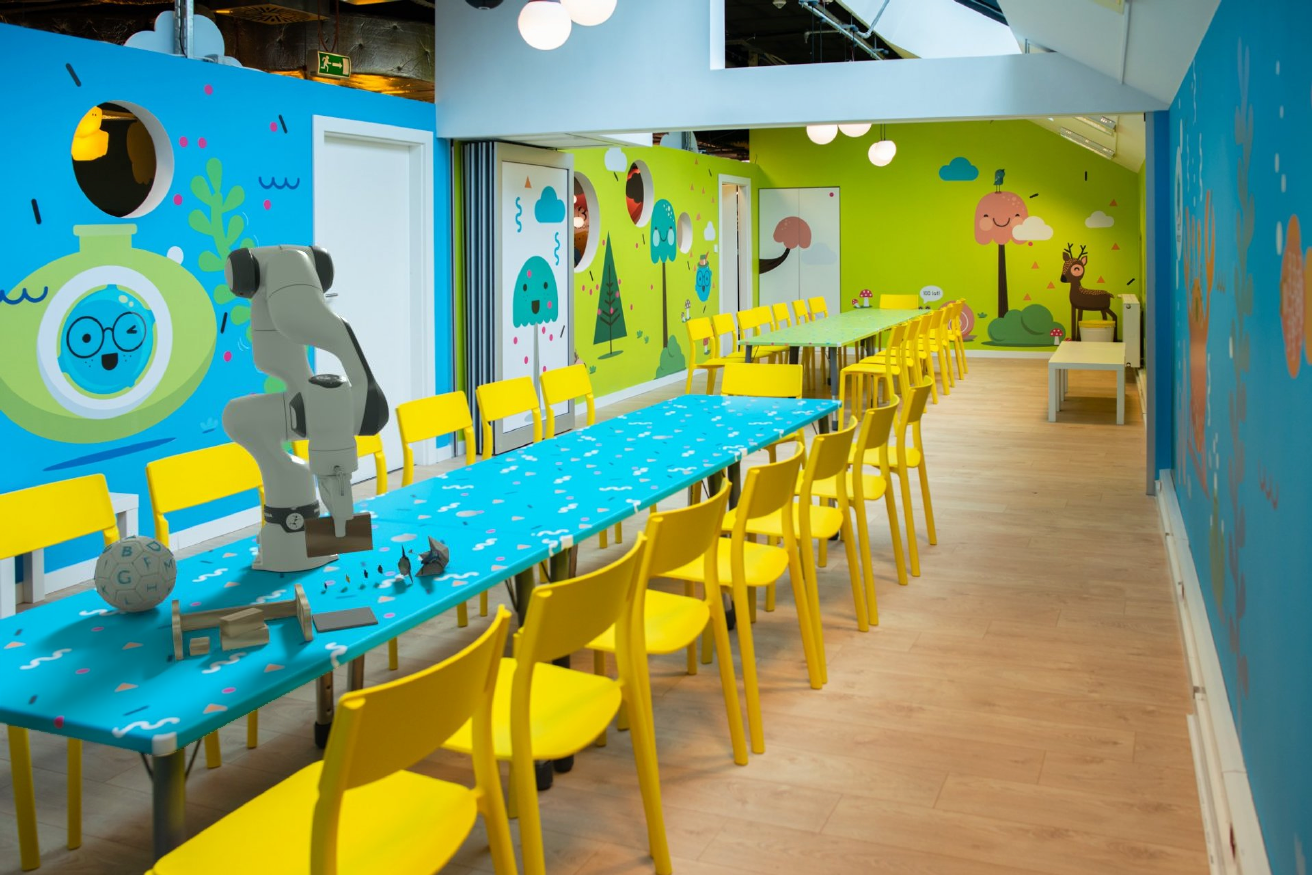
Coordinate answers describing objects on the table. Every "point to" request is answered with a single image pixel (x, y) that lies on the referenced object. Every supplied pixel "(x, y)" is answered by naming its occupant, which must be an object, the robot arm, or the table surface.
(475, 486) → the table surface
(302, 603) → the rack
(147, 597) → the puzzle ball
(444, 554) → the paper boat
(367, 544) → the walnut board
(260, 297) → the robot arm
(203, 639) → the offcut
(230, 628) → the offcut
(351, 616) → the mat
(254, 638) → the offcut
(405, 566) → the toy fish set
